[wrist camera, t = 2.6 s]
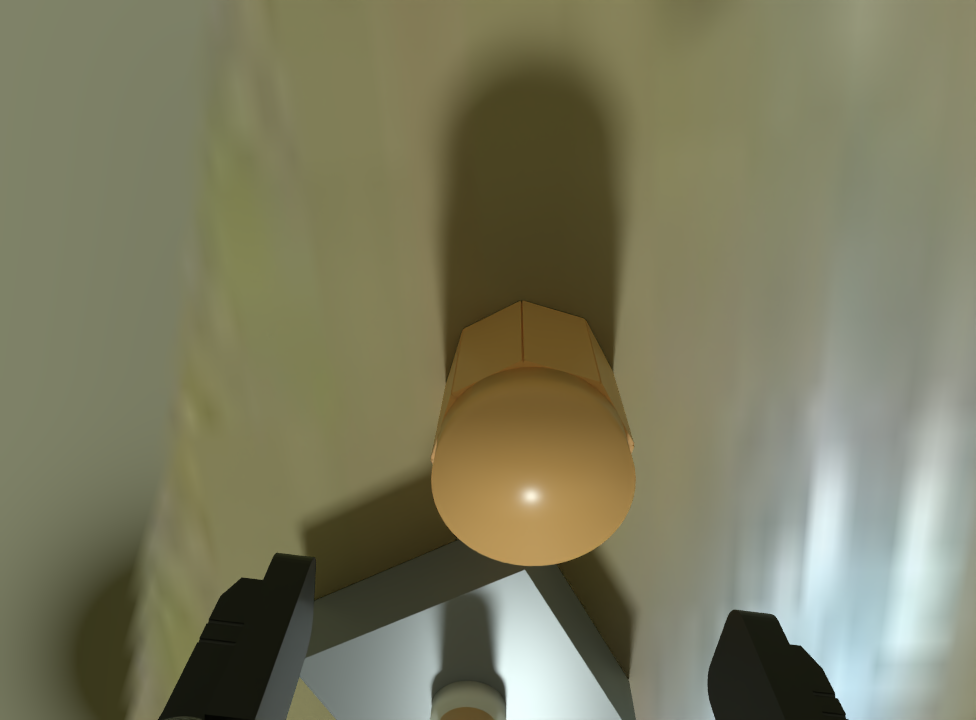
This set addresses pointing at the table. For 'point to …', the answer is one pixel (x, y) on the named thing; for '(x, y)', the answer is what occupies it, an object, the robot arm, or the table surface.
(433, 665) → the grey piece
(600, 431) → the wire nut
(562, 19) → the table surface
